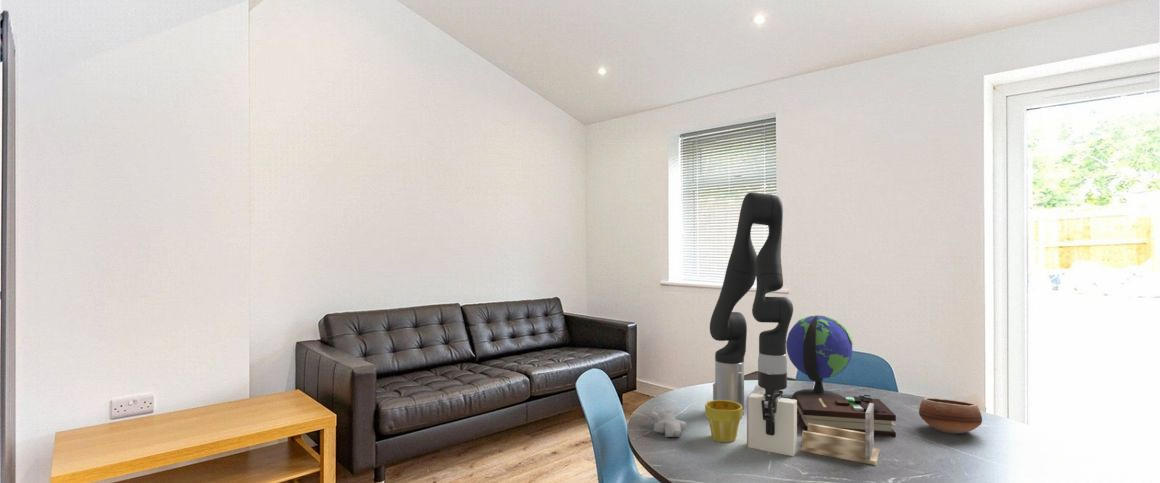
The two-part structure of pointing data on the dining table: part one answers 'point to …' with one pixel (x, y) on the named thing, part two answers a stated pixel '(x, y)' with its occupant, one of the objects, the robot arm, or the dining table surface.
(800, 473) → the dining table surface
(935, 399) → the bowl
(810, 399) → the decorative book
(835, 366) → the globe
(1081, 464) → the dining table surface
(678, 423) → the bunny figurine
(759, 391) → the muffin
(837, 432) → the book rack
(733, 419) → the plant pot
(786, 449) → the slim book
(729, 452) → the dining table surface
